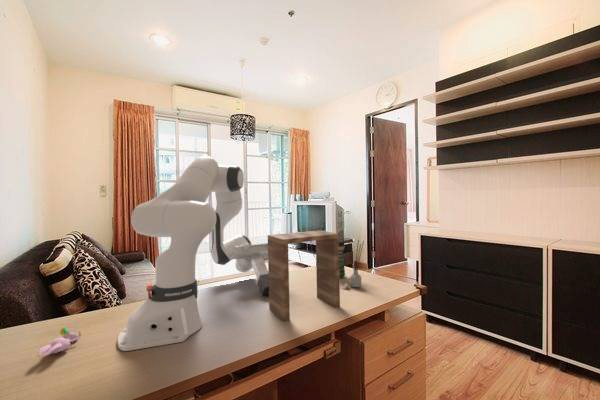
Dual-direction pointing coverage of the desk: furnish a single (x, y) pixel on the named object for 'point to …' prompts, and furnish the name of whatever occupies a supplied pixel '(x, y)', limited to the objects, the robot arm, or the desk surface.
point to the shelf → (324, 268)
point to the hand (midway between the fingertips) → (260, 243)
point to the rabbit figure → (60, 342)
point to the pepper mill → (260, 273)
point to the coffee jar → (341, 258)
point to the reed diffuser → (355, 272)
